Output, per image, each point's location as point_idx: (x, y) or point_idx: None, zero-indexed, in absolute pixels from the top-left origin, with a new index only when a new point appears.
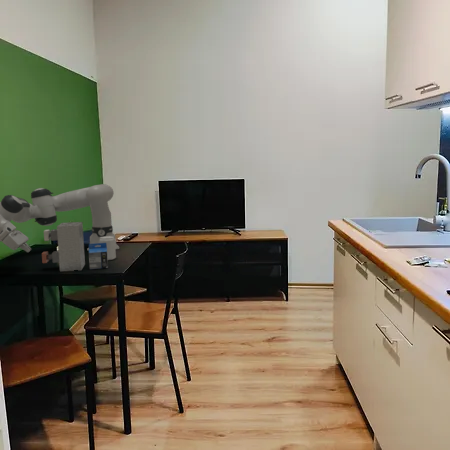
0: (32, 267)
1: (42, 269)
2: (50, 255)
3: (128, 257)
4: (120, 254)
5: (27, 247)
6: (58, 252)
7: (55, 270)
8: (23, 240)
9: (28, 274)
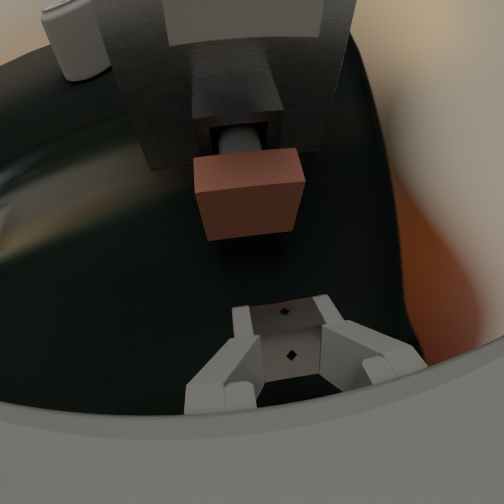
0: (169, 371)
1: (251, 269)
2: (254, 145)
3: None
4: (41, 69)
5: (336, 322)
6: (261, 80)
7: None
8: (315, 433)
9: (395, 310)
